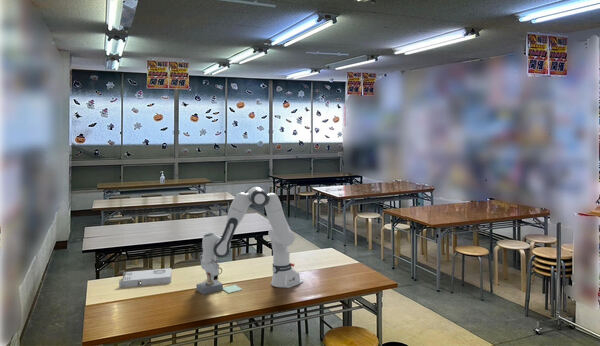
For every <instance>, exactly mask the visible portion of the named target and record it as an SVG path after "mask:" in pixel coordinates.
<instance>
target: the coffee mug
mask: <svg viewBox="0 0 600 346" xmlns="http://www.w3.org/2000/svg"><path fill="white" fill-rule="evenodd" d="M216 263H217V264H218V267H219V270H221V272H219V275H221V274H222V273H223V269H222V268H221V267H220V263H219V262H216ZM219 275H216V276H214V280H218V278H219Z"/></svg>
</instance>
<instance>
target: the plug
mask: <svg viewBox="0 0 600 346" xmlns="http://www.w3.org/2000/svg"><path fill="white" fill-rule="evenodd" d="M210 277H211V274H210V273H207V274H206V282H207V286H209V285H213V280H211V279H210Z"/></svg>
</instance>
